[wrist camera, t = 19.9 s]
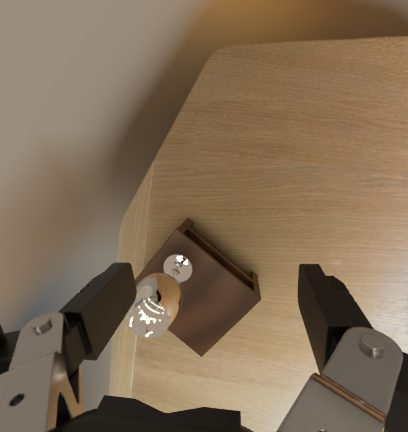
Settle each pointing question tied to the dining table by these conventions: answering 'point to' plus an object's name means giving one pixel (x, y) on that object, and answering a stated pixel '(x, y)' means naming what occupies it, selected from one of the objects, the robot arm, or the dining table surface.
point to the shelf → (206, 289)
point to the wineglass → (159, 298)
